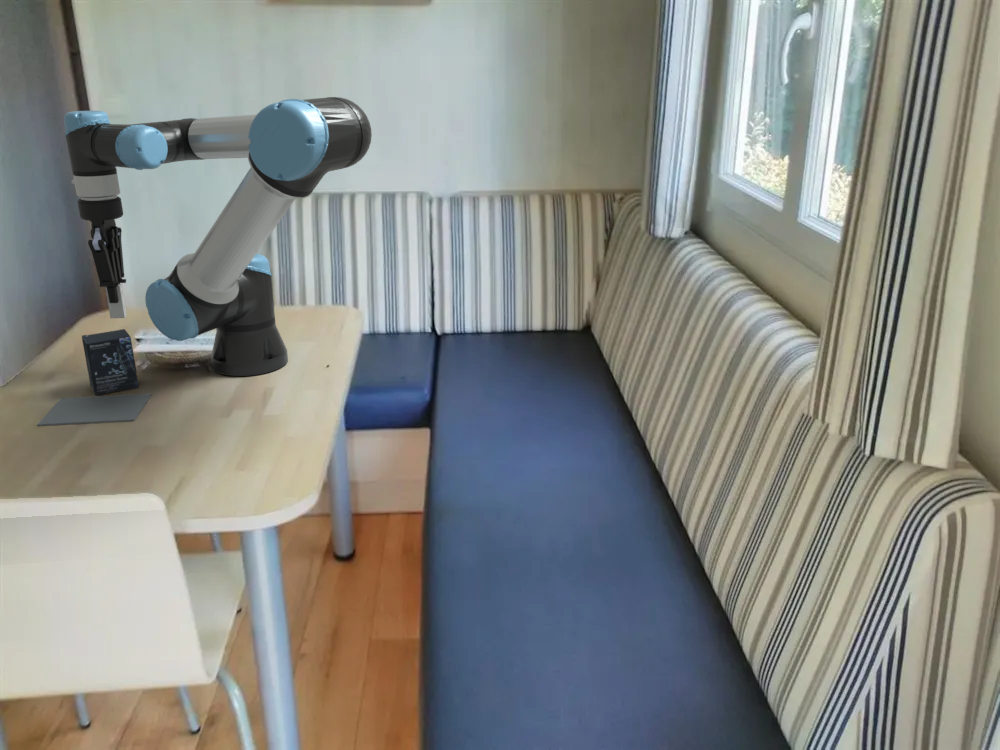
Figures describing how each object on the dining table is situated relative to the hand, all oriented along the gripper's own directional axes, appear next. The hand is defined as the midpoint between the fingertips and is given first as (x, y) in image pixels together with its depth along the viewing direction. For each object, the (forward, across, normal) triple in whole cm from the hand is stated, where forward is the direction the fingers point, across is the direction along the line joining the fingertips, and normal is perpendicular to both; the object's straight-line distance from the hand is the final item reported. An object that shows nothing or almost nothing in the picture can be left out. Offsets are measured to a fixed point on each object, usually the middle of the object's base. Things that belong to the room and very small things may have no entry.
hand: (118, 317), depth 168 cm
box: (+11, +10, 0) cm, 15 cm away
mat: (+11, +21, 0) cm, 23 cm away
